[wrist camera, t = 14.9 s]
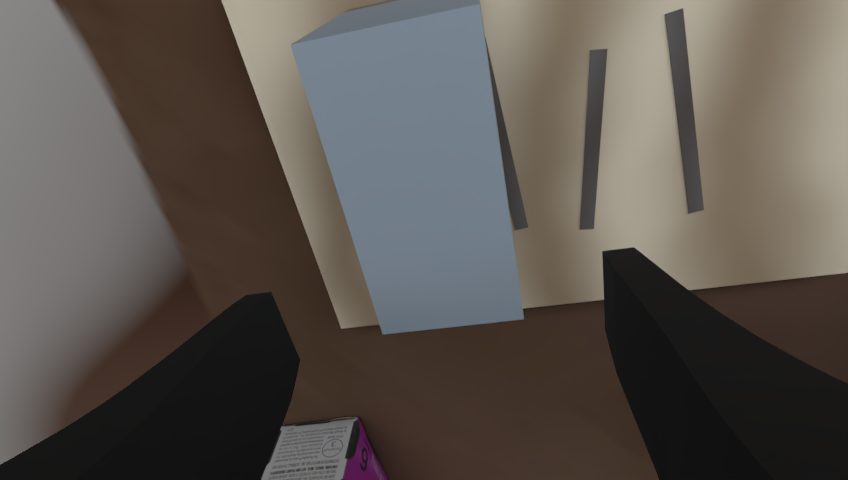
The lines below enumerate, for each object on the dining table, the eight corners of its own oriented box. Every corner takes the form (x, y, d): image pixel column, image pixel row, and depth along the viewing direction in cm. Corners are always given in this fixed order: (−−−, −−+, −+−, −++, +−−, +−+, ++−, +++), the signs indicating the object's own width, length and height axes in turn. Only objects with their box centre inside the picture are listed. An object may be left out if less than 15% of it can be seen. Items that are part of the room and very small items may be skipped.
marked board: (929, -192, 13) (962, -201, 12) (831, 258, 20) (848, 273, 19) (227, -22, 17) (213, -19, 16) (346, 314, 24) (340, 329, 23)
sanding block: (476, -20, 15) (479, 3, 10) (509, 216, 19) (524, 319, 14) (349, 9, 16) (290, 44, 11) (406, 231, 20) (382, 334, 15)
